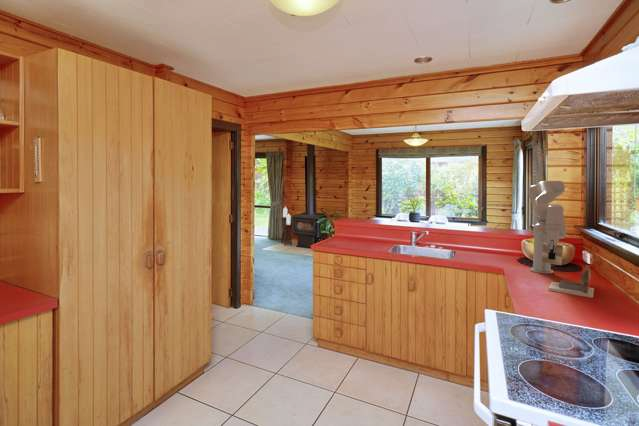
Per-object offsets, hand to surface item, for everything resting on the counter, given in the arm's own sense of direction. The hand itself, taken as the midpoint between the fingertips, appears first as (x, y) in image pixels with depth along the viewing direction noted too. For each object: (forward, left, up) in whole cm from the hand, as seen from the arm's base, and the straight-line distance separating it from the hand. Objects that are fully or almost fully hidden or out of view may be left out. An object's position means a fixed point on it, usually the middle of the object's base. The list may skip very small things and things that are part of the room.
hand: (552, 258), depth 188 cm
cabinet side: (+14, +16, -12) cm, 24 cm away
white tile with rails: (+14, +10, -14) cm, 22 cm away
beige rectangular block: (0, 0, -3) cm, 3 cm away
